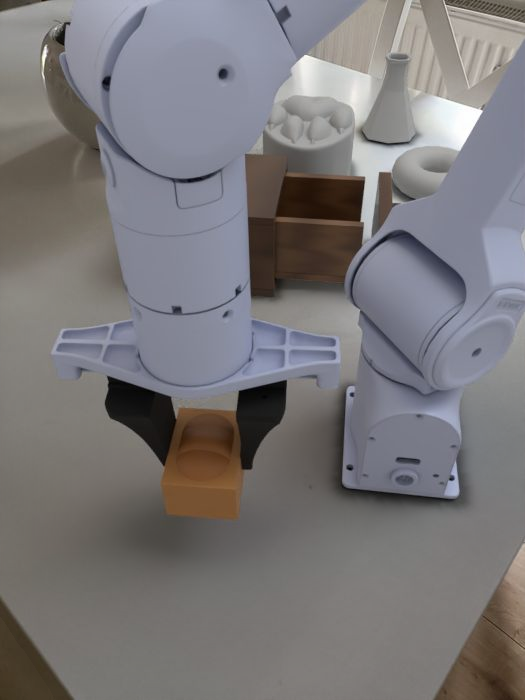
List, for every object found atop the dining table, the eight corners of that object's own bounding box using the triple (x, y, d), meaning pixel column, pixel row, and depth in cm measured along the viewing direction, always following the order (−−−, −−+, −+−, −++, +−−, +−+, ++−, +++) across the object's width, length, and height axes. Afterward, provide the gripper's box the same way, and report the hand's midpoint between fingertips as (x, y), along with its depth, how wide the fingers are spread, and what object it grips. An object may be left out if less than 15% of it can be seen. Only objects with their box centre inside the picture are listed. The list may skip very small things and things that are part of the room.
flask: (416, 146, 81) (429, 67, 74) (360, 143, 82) (368, 64, 75) (415, 123, 86) (427, 47, 79) (362, 120, 87) (370, 44, 80)
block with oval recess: (238, 520, 36) (235, 480, 33) (166, 515, 36) (158, 475, 34) (248, 443, 40) (246, 402, 37) (184, 439, 40) (177, 398, 38)
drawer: (424, 234, 65) (436, 174, 60) (430, 296, 57) (444, 234, 53) (264, 224, 67) (264, 165, 62) (250, 283, 59) (248, 221, 54)
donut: (387, 205, 71) (478, 212, 69) (391, 178, 69) (485, 184, 67) (392, 164, 78) (474, 170, 76) (395, 138, 76) (480, 143, 74)
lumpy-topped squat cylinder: (352, 157, 79) (358, 88, 73) (346, 211, 70) (353, 137, 64) (271, 152, 80) (271, 84, 74) (255, 204, 71) (253, 131, 65)
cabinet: (286, 230, 67) (288, 155, 61) (274, 296, 59) (274, 218, 53) (164, 222, 69) (154, 148, 63) (135, 286, 60) (120, 208, 54)
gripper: (344, 229, 31) (328, 408, 40) (57, 223, 32) (107, 401, 41) (350, 323, 26) (330, 503, 35) (8, 313, 27) (78, 492, 36)
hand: (209, 454), depth 38 cm, fingers closed on block with oval recess, 4 cm apart
